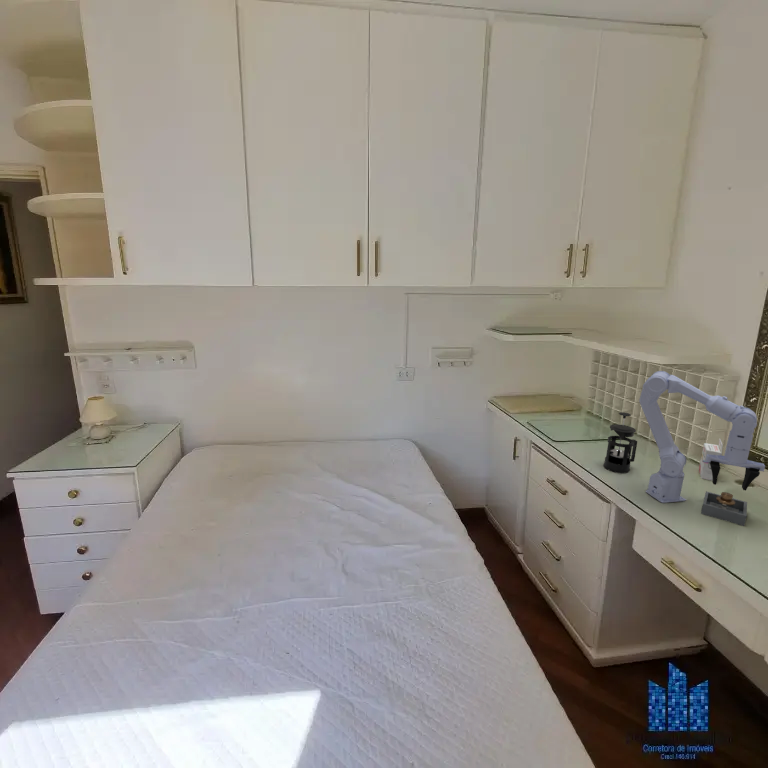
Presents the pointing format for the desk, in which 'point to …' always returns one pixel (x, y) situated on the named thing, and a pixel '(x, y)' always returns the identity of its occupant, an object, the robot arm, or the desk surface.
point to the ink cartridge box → (705, 466)
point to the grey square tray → (724, 513)
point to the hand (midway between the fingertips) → (728, 486)
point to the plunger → (725, 501)
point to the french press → (619, 455)
